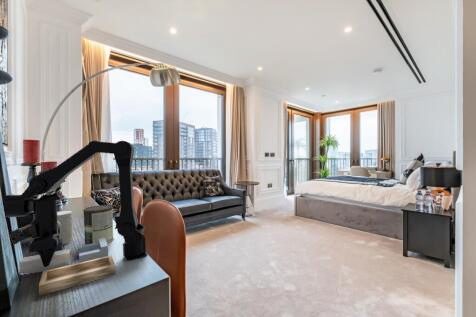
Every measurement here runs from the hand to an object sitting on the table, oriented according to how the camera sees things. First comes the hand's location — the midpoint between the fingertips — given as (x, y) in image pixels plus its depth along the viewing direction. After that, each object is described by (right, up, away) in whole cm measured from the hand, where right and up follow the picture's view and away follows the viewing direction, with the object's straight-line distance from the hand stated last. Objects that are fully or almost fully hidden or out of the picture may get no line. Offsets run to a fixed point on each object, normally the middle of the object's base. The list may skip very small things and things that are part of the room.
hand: (47, 263), depth 72 cm
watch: (-10, -2, +14) cm, 17 cm away
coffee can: (+3, -1, +22) cm, 22 cm away
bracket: (+9, -1, +7) cm, 11 cm away
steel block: (0, -1, 0) cm, 1 cm away
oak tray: (+15, -1, -7) cm, 16 cm away
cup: (-13, -2, +22) cm, 26 cm away
